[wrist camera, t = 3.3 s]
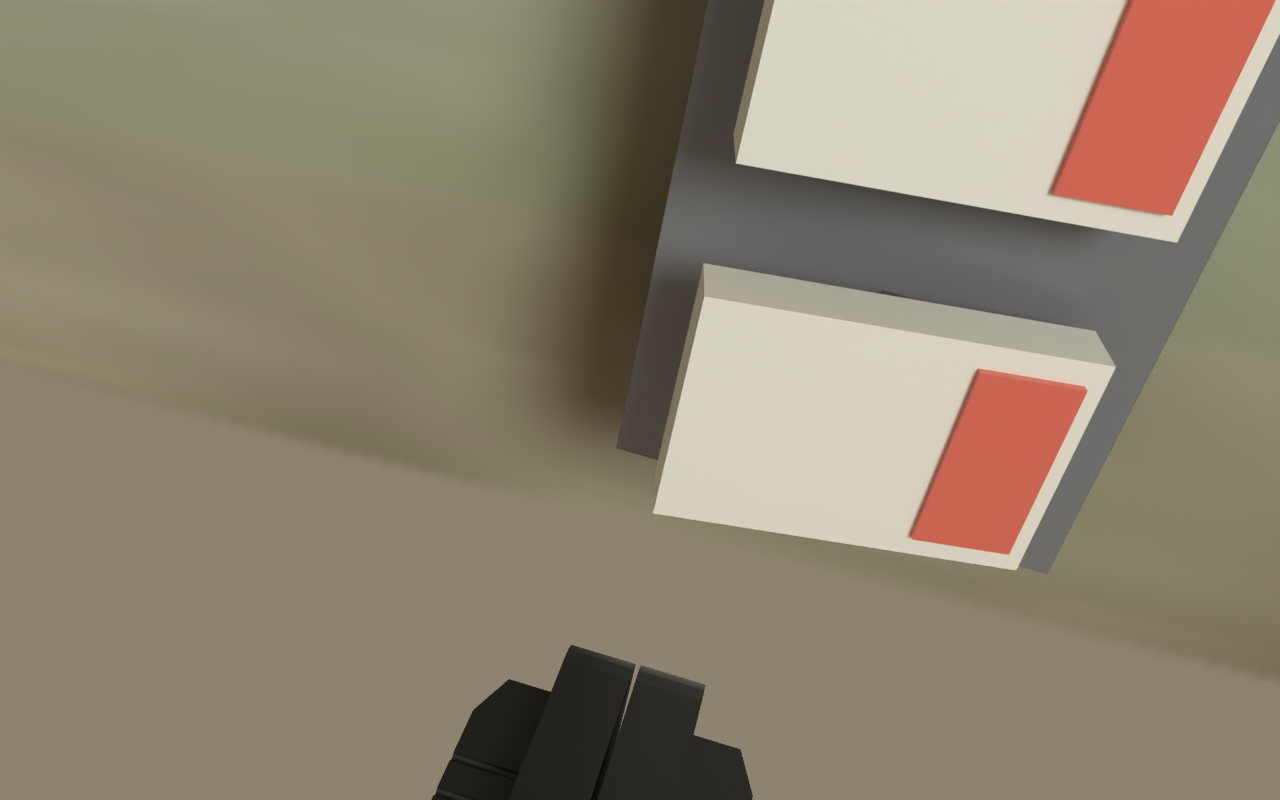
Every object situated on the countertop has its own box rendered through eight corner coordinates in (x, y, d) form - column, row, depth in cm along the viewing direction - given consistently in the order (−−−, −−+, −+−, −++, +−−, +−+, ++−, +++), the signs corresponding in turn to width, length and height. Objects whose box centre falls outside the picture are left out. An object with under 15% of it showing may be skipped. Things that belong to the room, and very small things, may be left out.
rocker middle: (1292, -89, 14) (1336, -68, 13) (1152, 210, 16) (1180, 247, 15) (807, -187, 13) (817, -174, 12) (732, 135, 16) (736, 167, 15)
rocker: (1095, 330, 17) (1119, 371, 16) (1002, 530, 19) (1018, 575, 18) (703, 263, 17) (704, 300, 16) (654, 474, 19) (653, 518, 18)
